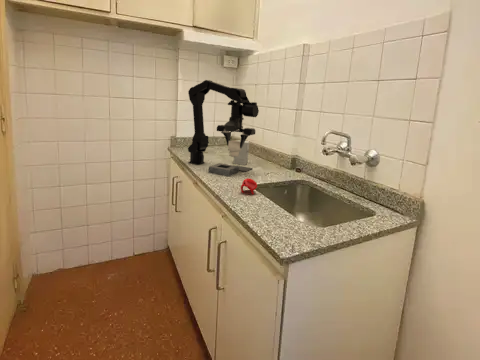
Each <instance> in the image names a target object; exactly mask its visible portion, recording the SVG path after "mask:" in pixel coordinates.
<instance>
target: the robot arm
mask: <svg viewBox="0 0 480 360" xmlns="http://www.w3.org/2000/svg"><path fill="white" fill-rule="evenodd" d="M210 90H211V91H213V92H217V93H220V94H222V95H225V96H226V97H228V98H229V99H230V101H229V102H228V103H227V105H228V106H231V110H230V116H229V118H228V121H227V122H226V123H225V124H218V125H217V127H216V131H217V132H220V134H223V136H224V138H225V141H226V145H227V146H228V143H229V141H231V139H232V138H231V137H232V133H235V132H236V133H242V134H240V135H239V136H240V140H241V142H240V148H242V146H243V144H244V142H245V141H247V140H248V139H247V138H248V137H249V136H254V135H256V129H255V128H253V127H252V128H251V127H246V128H244V126H243V121H244V120H245V119H244V117H248V118H257V117H258V115H259V112H260V111H259V107H258V103H257V102H254V101H252V102H251V101H250V100H249V98H248V95H247V92H246V90H245V89H243V88H236V87H230V86H226V85H223V84H220V83H217V82H215V81H213V80H211V79H205V80H203V81H202V82H200V83H198V84H196V85H194V86H191V87H190V88H189V89H188V91H187V92H188V99H189V101H190V103H191V104H192V112H193V114H192V115H193V126H194V129H193V130H194V134H193V137H192V140H191V144H190V145H189V146H188V147H187V151H188V153H190V154H189V155H190V156H189V161H188V164H193V165H203V164H205V154H204V152H206V150H207V148H208V147H209V144H210V142H209V136H208V135H207V134H206V133H205V126H204V110H203V105H204V102H205V99H206V98H205V96H206V95H207V94H209V92H210ZM243 116H244V117H243Z"/></svg>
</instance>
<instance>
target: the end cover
mask: <svg viewBox="0 0 480 360" xmlns="http://www.w3.org/2000/svg"><path fill="white" fill-rule="evenodd" d="M240 142H241V141H237V140H233V139H232V140H231V139H230V141H229V143H228V145H227V151H229V157H231V158H234V157H239V151H241V148H240Z"/></svg>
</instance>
